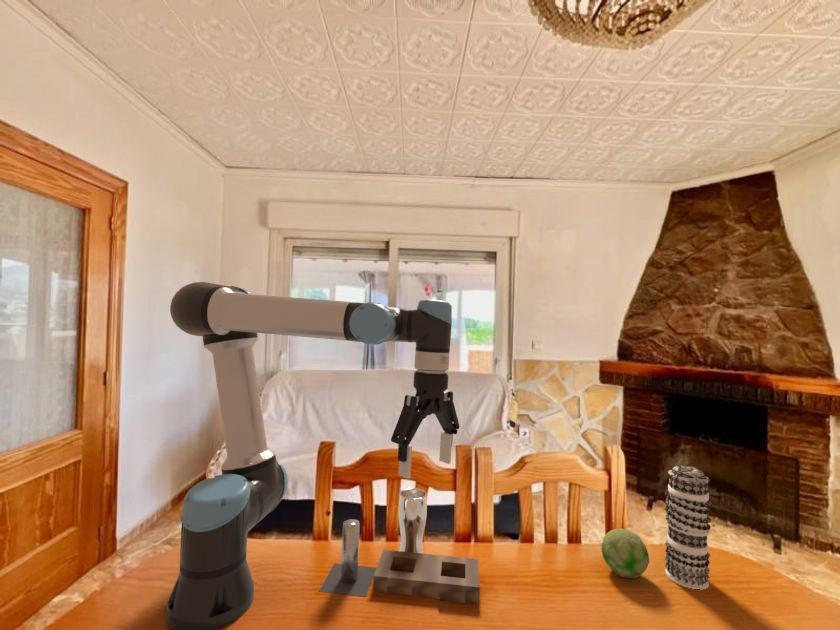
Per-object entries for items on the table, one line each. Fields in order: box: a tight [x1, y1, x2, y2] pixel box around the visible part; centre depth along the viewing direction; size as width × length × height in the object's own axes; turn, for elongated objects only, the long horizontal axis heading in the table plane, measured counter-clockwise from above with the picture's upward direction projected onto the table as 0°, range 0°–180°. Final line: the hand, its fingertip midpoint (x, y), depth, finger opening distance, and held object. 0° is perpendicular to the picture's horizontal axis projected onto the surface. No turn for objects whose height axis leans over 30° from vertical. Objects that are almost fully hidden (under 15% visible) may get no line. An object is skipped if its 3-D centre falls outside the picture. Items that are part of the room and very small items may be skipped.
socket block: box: [372, 549, 481, 606], centre depth 88 cm, size 22×10×4 cm, turn 84°
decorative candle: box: [664, 465, 713, 591], centre depth 93 cm, size 9×9×25 cm
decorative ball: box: [600, 528, 650, 579], centre depth 94 cm, size 10×10×10 cm
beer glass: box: [398, 487, 428, 554], centre depth 98 cm, size 7×7×15 cm
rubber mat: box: [318, 562, 377, 598], centre depth 88 cm, size 10×10×1 cm
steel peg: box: [340, 518, 361, 584], centre depth 88 cm, size 4×4×12 cm
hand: (425, 469), depth 87 cm, fingers open, 13 cm apart
